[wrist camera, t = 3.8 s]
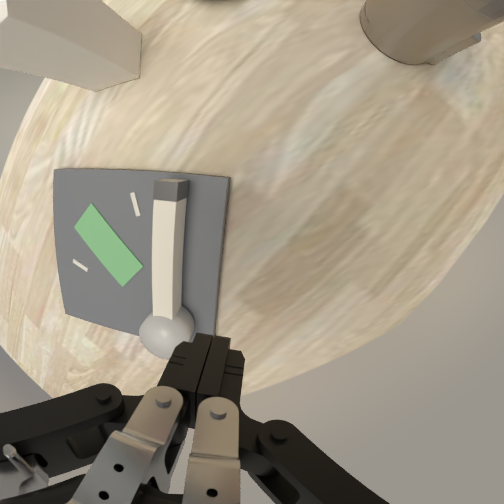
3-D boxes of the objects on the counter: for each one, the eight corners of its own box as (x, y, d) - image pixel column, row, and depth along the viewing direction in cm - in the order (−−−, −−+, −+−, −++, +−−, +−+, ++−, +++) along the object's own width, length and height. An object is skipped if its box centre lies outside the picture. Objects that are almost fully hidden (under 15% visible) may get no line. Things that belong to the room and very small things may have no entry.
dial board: (230, 177, 25) (227, 178, 24) (214, 344, 31) (211, 352, 30) (61, 168, 26) (52, 169, 24) (71, 308, 32) (64, 314, 30)
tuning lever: (194, 344, 29) (186, 363, 26) (152, 335, 29) (141, 353, 26) (204, 181, 24) (194, 184, 20) (153, 177, 24) (136, 179, 21)
